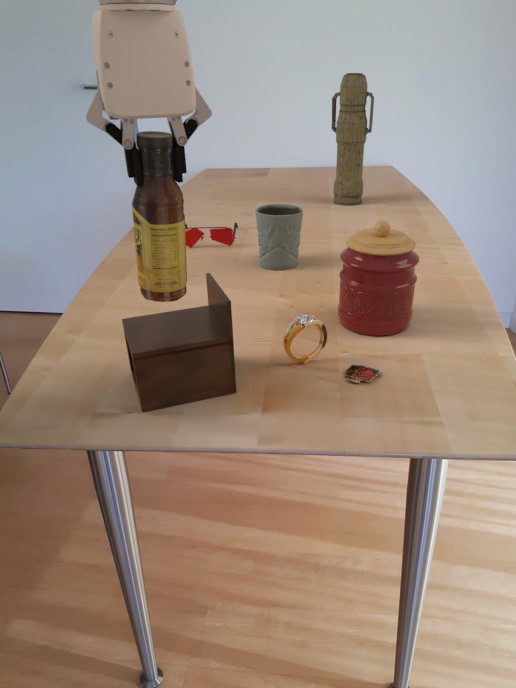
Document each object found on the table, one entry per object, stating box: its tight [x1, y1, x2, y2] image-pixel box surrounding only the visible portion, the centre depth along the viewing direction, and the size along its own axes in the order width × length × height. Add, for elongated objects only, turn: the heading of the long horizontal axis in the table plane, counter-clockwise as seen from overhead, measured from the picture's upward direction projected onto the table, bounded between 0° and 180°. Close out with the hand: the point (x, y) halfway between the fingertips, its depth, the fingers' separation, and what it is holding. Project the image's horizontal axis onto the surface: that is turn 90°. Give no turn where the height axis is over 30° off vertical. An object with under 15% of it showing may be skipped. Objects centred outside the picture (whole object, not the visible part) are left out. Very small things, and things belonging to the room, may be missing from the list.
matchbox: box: [344, 364, 383, 384], centre depth 80 cm, size 5×5×1 cm
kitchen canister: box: [337, 220, 420, 337], centre depth 92 cm, size 13×13×18 cm
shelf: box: [121, 272, 237, 413], centre depth 76 cm, size 13×11×14 cm
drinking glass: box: [255, 203, 304, 271], centre depth 119 cm, size 10×10×12 cm
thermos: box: [331, 72, 375, 206], centre depth 160 cm, size 9×12×35 cm
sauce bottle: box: [131, 130, 188, 303], centre depth 67 cm, size 7×6×20 cm
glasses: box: [185, 222, 239, 249], centre depth 137 cm, size 14×16×5 cm
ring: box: [282, 312, 328, 364], centre depth 82 cm, size 7×3×8 cm, turn 111°
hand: (158, 180), depth 65 cm, fingers closed on sauce bottle, 4 cm apart
